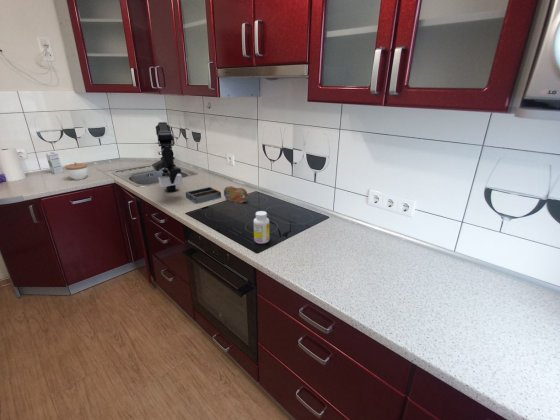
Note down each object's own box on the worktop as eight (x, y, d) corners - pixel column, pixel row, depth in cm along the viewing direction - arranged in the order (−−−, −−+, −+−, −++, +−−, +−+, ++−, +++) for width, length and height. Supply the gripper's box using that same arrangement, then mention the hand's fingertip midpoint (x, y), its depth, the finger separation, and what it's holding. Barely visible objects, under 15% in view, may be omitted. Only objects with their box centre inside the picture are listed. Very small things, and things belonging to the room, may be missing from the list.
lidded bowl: (74, 182, 199) (70, 165, 194) (64, 179, 205) (60, 163, 200) (93, 177, 209) (90, 162, 205) (83, 174, 215) (79, 159, 210)
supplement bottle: (266, 235, 133) (266, 209, 128) (271, 242, 127) (271, 215, 122) (252, 238, 130) (251, 211, 126) (256, 245, 125) (256, 217, 120)
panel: (159, 185, 167) (158, 177, 165) (180, 182, 174) (179, 173, 173) (161, 187, 165) (160, 178, 163) (182, 183, 172) (181, 175, 170)
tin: (223, 199, 174) (223, 185, 171) (227, 197, 176) (226, 184, 173) (245, 204, 167) (245, 190, 164) (248, 202, 170) (248, 188, 167)
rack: (186, 197, 176) (185, 191, 174) (210, 191, 186) (210, 185, 184) (195, 203, 167) (195, 197, 165) (221, 197, 176) (220, 191, 175)
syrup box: (63, 172, 219) (58, 152, 213) (54, 174, 214) (48, 154, 209) (59, 171, 222) (54, 151, 216) (50, 173, 217) (45, 153, 212)
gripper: (146, 154, 165) (150, 181, 171) (158, 160, 152) (163, 189, 158) (166, 152, 172) (170, 178, 178) (179, 157, 159) (183, 185, 165)
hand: (171, 182), depth 169 cm, fingers closed on panel, 3 cm apart
